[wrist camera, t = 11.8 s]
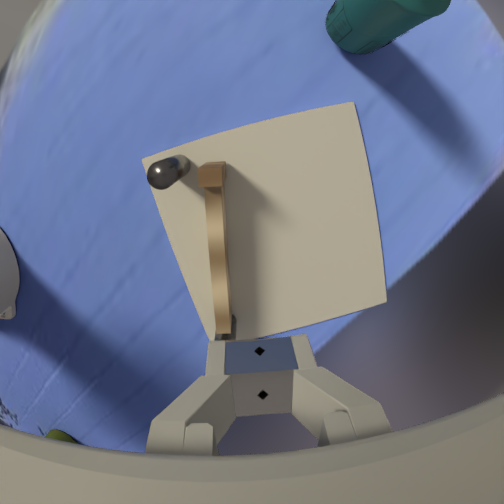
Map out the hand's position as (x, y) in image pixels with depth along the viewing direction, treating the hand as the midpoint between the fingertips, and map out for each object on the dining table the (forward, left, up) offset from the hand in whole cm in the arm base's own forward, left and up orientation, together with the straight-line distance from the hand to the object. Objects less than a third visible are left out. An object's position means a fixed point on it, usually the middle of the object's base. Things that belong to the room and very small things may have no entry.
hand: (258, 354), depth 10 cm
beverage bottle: (+15, +15, -26) cm, 34 cm away
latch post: (-6, +5, -26) cm, 27 cm away
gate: (-4, -4, -25) cm, 25 cm away
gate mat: (+2, -5, -26) cm, 26 cm away
